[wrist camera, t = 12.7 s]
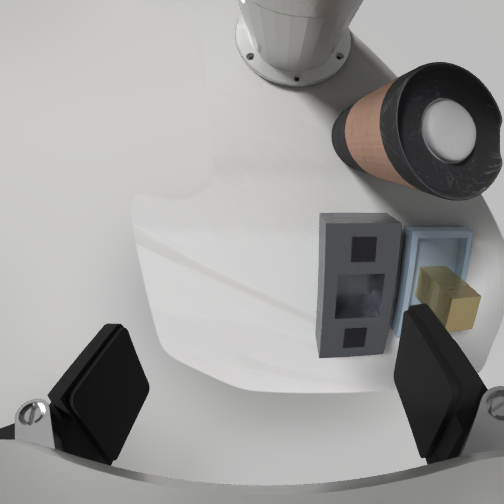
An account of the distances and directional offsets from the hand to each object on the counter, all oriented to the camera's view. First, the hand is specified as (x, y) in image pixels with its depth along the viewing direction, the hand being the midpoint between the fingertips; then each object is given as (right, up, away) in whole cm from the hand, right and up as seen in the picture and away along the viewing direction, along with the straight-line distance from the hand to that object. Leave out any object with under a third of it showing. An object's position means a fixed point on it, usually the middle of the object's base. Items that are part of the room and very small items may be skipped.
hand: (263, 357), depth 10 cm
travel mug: (+12, +16, +22) cm, 29 cm away
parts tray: (+22, 0, +26) cm, 34 cm away
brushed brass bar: (+22, 0, +25) cm, 34 cm away
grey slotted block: (+12, 0, +27) cm, 29 cm away
